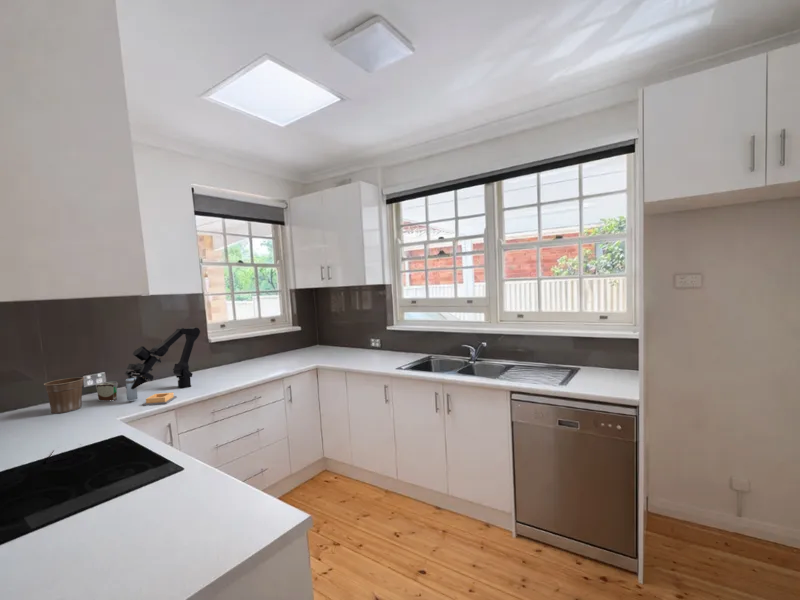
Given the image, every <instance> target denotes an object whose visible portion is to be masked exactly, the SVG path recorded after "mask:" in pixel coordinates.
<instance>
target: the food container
mask: <svg viewBox="0 0 800 600" xmlns="http://www.w3.org/2000/svg"><path fill="white" fill-rule="evenodd" d="M118 387H119V383H118V382H117V381H104V382H98V383H96V384H95V388H96V393H97V398H98V401H99V400H104V401H103V402H113V401H112V400H114V401H116V400H117V397H118V395H117V394H118V393H117V392H118ZM110 400H111V401H110Z"/></svg>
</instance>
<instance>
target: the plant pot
mask: <svg viewBox="0 0 800 600" xmlns="http://www.w3.org/2000/svg"><path fill="white" fill-rule="evenodd" d="M84 379H85V377H84V376H83V377H82V376H81V377H80V376H79V377H69V378H62V379H55V380H52V381H48V382H45V383H43V386H44V387H45V392H47V397H48V402H49V407H50V412H51V414H64V413H69V412H71V411H76V410H79V409H81V408H82V398H83V397H82V395H83V386H84Z"/></svg>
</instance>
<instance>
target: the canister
mask: <svg viewBox="0 0 800 600" xmlns="http://www.w3.org/2000/svg"><path fill="white" fill-rule="evenodd" d="M135 381H136V378H128V377H127V378H125V388H126V389H125V390H126V400H127V401H128V402H131V401H136V400H138V399H139V398H138V387H136V388H134V389H131V387H132V386H133V384H134V383H135Z"/></svg>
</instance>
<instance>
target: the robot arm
mask: <svg viewBox="0 0 800 600" xmlns="http://www.w3.org/2000/svg"><path fill="white" fill-rule="evenodd" d="M200 334H201V330H200V328H198V327H188V328H184V327H178V328H176V330H174V332H173V333H172V334H170V335H169V336H168V337H167V338H166V339H165V340H164V341H163V342H161V343H159V344H157V345H155V346H153V347H152V348H151V349H149V350H148V349H147V348H146V347H145V346H142V345H141V346H140V347H138V348H137V349H134V351H133V353H132V356H134V357H135V358H136V359H138V360H139V361H140V362H136V363H128V365H127V367H126V369H127V370H126V371H125V372H124V375H125V376H127V379H128V378H136V381H135V383H134V384H133V386H132V387H131V389H134V388H136V387H137V388H138V387H140V386H141V385H144V384H145V383H148V382H152V381H153V380H154V375H152V374H151V373H150V371H151V372H152V371H153V368H154V366H155V365H156V363H159V364H161V363H162V360H161V358H160V357H164V356H165V355H166V354H167V353H168V352H169V349H170V347H172V345H174V344H175V343H176V341H178V340H179V339H180V338H181V337H182V336H183V335H185V344H184V346H183V350H182V352H181V356H180V358H179V361H178V363H175V364H174V367H173V369H172V371H173V374H174V375H175V377H176V378H177V387H178V388H179V389H185V388H190V387H192V384H191V378H192V377H193V372H191V371H190V370H189V369H190V365H189V361H190V358H191V354H192V351H193V347H194V344H195V342H196V340H197V339H198V338H199V336H200ZM141 361H142V363H141Z"/></svg>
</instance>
